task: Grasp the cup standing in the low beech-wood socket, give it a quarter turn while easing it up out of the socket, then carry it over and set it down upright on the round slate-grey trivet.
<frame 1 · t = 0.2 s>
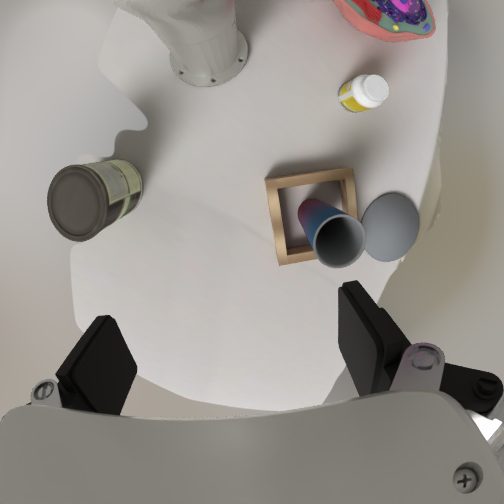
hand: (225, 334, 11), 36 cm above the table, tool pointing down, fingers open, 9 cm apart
cell model: (368, 14, 32), on the table
socket: (312, 213, 46), on the table
coffee can: (117, 187, 43), on the table
supplement bottle: (351, 98, 39), on the table
trivet: (390, 228, 47), on the table
cup: (311, 213, 46), resting in socket
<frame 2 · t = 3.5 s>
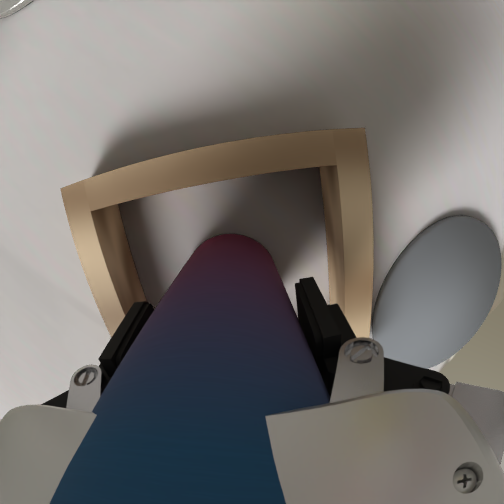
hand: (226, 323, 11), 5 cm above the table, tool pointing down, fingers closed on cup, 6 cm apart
socket: (231, 276, 16), on the table
trivet: (445, 300, 17), on the table
cup: (231, 275, 16), resting in socket, touching gripper
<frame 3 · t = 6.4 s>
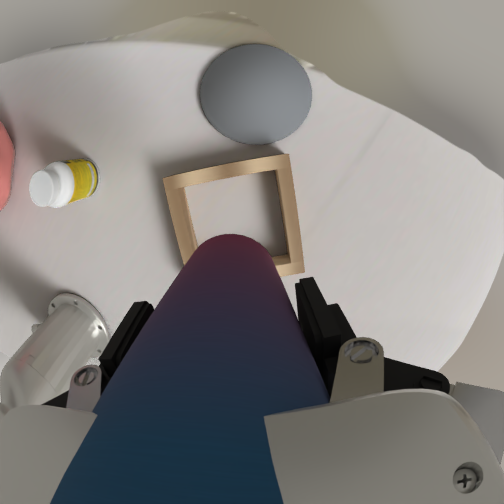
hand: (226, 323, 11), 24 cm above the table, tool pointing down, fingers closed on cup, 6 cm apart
cell model: (2, 165, 29), on the table
socket: (236, 220, 34), on the table
supplement bottle: (85, 177, 31), on the table
trivet: (256, 92, 29), on the table
cup: (231, 275, 16), point 19 cm above the table, touching gripper
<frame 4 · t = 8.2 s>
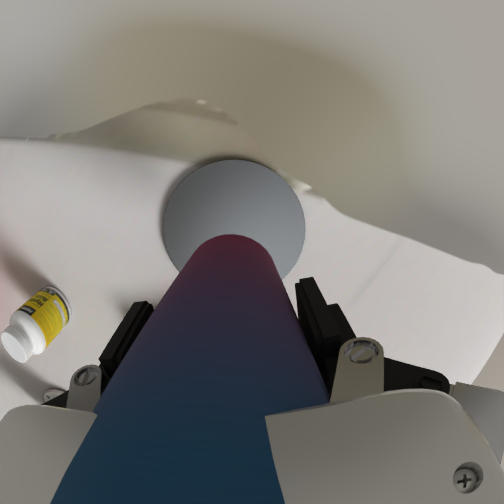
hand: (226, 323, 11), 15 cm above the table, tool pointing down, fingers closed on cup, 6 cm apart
supplement bottle: (56, 303, 28), on the table
trivet: (233, 231, 25), on the table
cup: (231, 275, 16), point 10 cm above the table, touching gripper
when the fingers open (6 cm above the table, at t = 9.6 s): cup drops 1 cm, resting on trivet.
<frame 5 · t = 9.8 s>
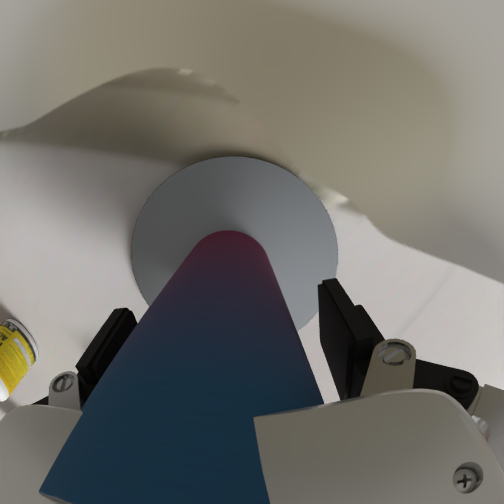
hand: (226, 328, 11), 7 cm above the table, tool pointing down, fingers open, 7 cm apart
supplement bottle: (22, 337, 20), on the table
trivet: (233, 263, 17), on the table
cup: (228, 268, 17), resting on trivet
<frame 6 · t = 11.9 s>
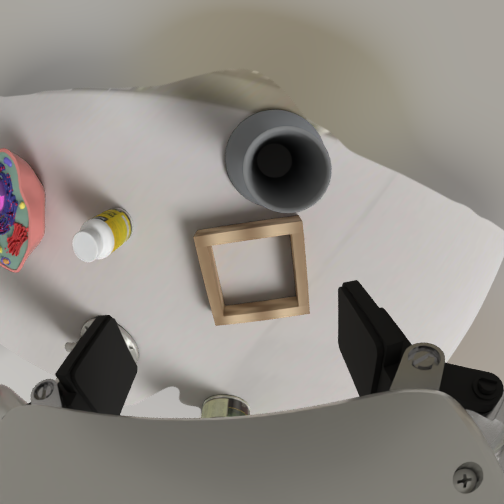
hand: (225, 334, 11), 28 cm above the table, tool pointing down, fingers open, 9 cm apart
cell model: (30, 200, 36), on the table
socket: (255, 269, 40), on the table
coffee can: (226, 407, 53), on the table
supplement bottle: (118, 224, 38), on the table
trivet: (276, 158, 35), on the table
cup: (274, 160, 34), resting on trivet
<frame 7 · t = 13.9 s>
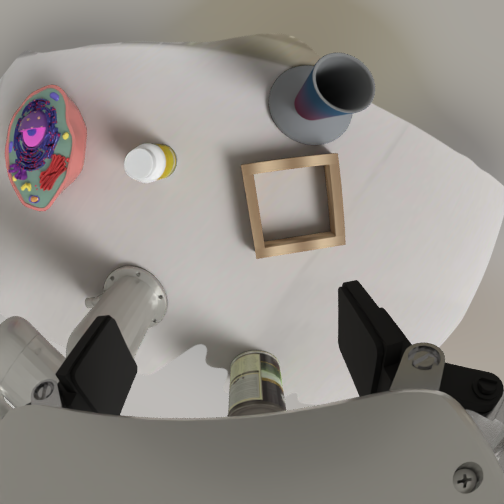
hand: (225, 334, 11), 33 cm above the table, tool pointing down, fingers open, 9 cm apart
cell model: (64, 146, 38), on the table
socket: (293, 202, 42), on the table
coffee can: (254, 367, 54), on the table
supplement bottle: (161, 161, 40), on the table
trivet: (311, 104, 37), on the table
cup: (310, 105, 37), resting on trivet
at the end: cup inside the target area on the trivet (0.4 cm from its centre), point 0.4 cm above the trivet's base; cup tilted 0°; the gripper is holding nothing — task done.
